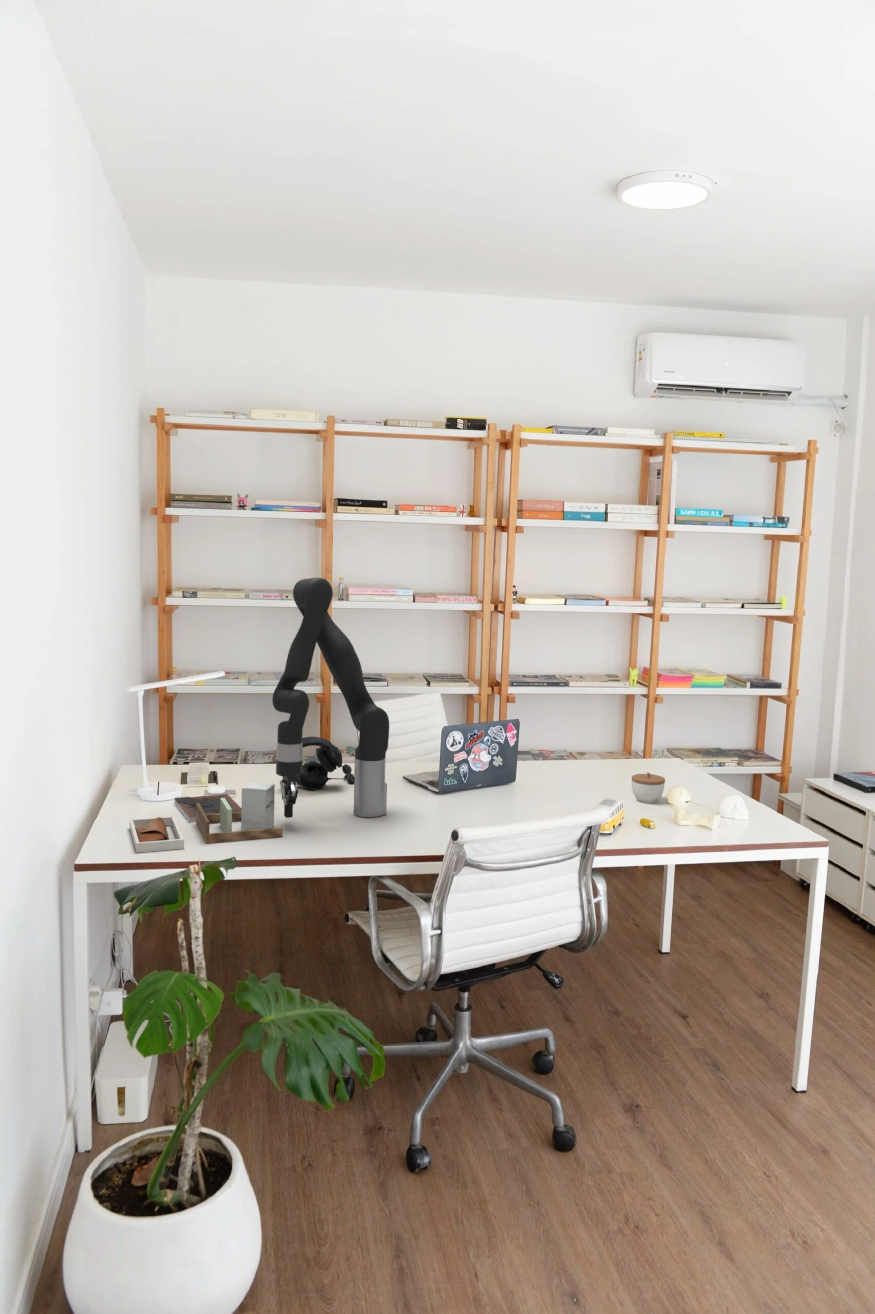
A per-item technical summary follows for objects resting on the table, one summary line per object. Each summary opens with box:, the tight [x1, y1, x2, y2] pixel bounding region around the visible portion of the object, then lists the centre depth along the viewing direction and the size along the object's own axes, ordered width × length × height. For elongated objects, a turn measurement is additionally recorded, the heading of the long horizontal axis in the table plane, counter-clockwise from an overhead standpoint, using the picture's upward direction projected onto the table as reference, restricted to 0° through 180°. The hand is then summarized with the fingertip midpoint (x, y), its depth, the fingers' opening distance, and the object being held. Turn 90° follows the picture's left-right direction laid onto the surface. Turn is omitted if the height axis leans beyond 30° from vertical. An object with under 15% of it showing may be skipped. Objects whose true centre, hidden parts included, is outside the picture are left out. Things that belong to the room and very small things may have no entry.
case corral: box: [129, 815, 185, 854], centre depth 262 cm, size 12×22×2 cm, turn 22°
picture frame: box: [173, 793, 242, 824], centre depth 290 cm, size 16×2×22 cm
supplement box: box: [240, 781, 276, 831], centre depth 273 cm, size 7×7×13 cm
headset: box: [295, 736, 355, 791], centre depth 321 cm, size 18×14×29 cm
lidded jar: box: [631, 772, 666, 804], centre depth 318 cm, size 11×11×9 cm
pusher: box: [219, 798, 233, 832], centre depth 270 cm, size 1×12×8 cm, turn 22°
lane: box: [195, 803, 284, 844], centre depth 272 cm, size 21×19×6 cm
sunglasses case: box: [136, 816, 170, 842], centre depth 262 cm, size 18×7×7 cm
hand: (288, 816), depth 277 cm, fingers closed
